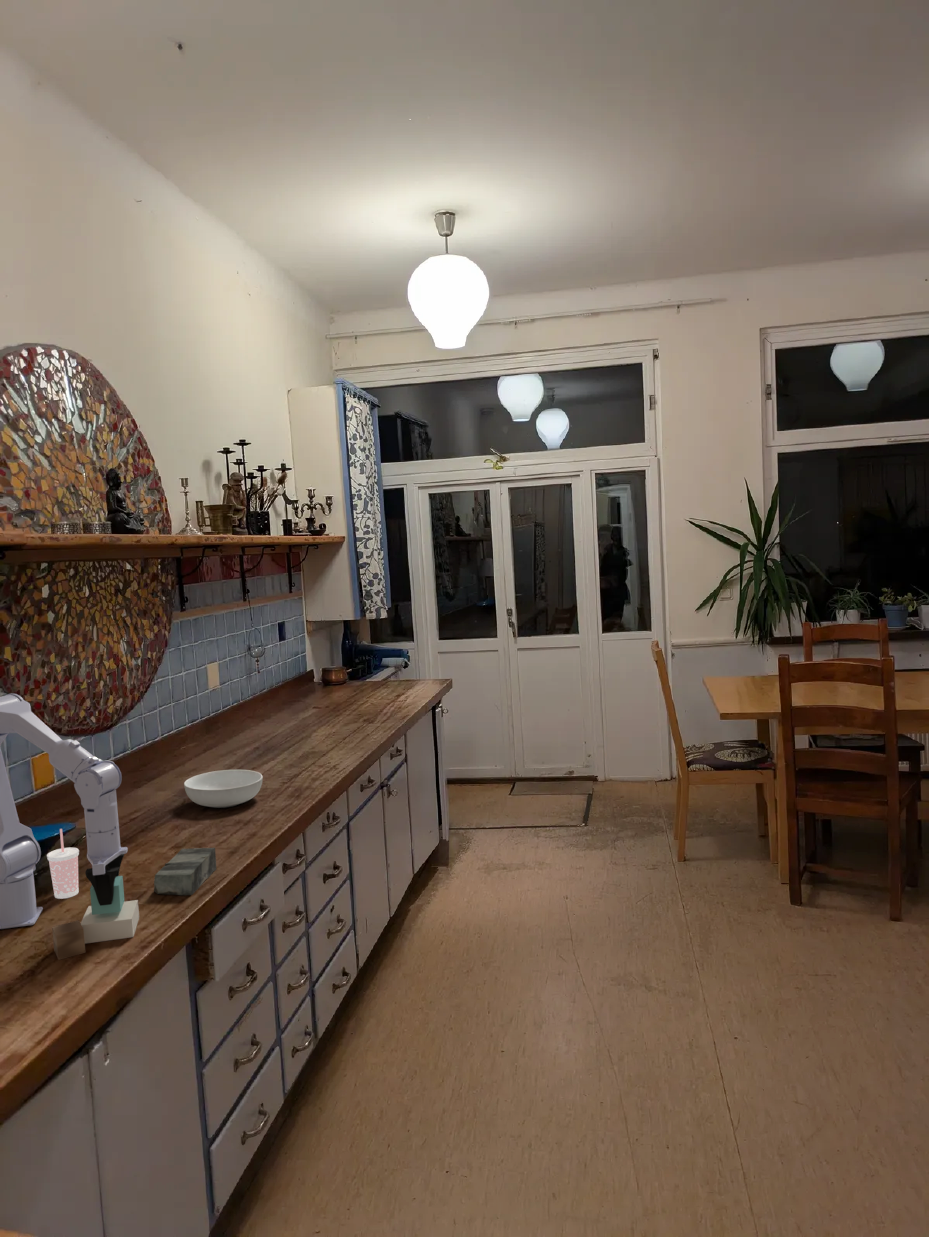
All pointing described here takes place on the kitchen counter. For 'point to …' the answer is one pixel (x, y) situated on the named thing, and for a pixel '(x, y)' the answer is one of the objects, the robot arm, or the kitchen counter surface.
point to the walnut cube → (68, 939)
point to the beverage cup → (64, 870)
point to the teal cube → (116, 903)
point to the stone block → (185, 871)
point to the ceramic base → (111, 923)
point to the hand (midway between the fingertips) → (108, 898)
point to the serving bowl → (223, 787)
